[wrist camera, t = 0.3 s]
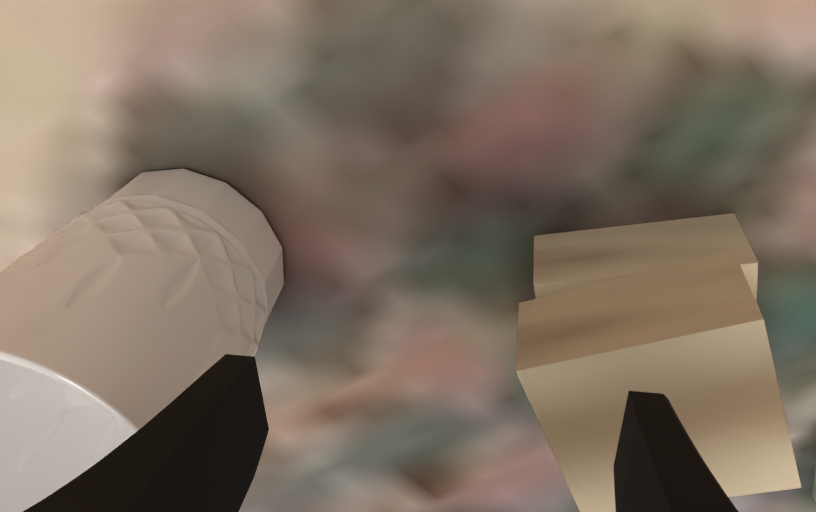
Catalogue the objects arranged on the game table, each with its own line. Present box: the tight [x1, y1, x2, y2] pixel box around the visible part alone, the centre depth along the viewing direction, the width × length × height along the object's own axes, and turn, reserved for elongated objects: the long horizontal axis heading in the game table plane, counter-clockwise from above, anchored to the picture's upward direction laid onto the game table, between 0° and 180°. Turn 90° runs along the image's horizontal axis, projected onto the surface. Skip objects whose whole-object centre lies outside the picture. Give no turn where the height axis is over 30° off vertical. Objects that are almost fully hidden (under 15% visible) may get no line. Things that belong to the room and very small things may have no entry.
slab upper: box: [516, 250, 801, 512], centre depth 19 cm, size 6×6×3 cm
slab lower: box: [533, 213, 758, 302], centre depth 22 cm, size 6×6×3 cm
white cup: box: [0, 169, 284, 512], centre depth 21 cm, size 8×8×10 cm
